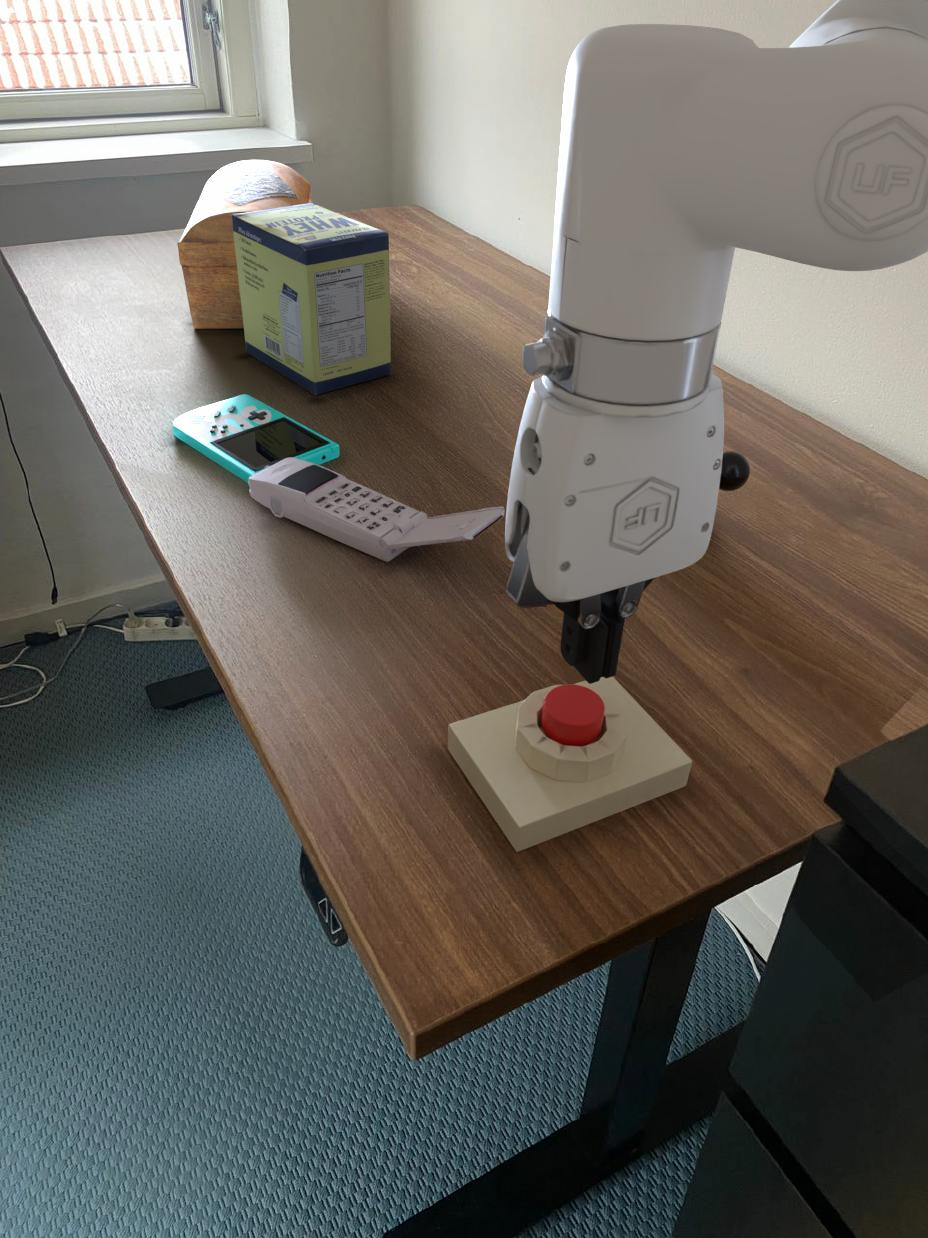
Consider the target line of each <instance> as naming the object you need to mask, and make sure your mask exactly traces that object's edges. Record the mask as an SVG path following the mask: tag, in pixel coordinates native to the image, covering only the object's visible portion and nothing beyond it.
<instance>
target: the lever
mask: <svg viewBox="0 0 928 1238" xmlns="http://www.w3.org/2000/svg"><path fill="white" fill-rule="evenodd" d="M750 474H751V467H750V464H749V461H748V460H747V458H746V457H745V455H743V454H742V453H739V452H737V451H731V450H729V451H723V459H722V470H721V477H720V485H719V491H720V490H721V491H724V492H733V491H737V490H739V489H741V488H742V487H743V486H745V484H747V482H748V481H749V477H750Z"/></svg>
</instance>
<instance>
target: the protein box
mask: <svg viewBox="0 0 928 1238" xmlns="http://www.w3.org/2000/svg"><path fill="white" fill-rule="evenodd" d="M231 216H232V223H233V233H234V242H235V252H236V261H237V270H238V279H239V288H240V297H241V305H242V316H243V325H244V328H243V331H244V333H243V334H244V341H245V351H246V353H247V354H248V355H250V356H251V357H253V358H255V359H256V360H258V361H259V362H261V363H263V364H264V365H266V366H267V367H269V368H270V369H272V370H274V371H275V372H277V373H278V374H279V375H282V376H284V377H285V378H286V379H288V380H289V381H291V382H293V383H294V384H296V385H298V386H299V387H301V388H302V389H304V390H306V391H307V392H309V393H310V394H312V395H314V396H317V395H321V394H325V393H329V392H332V391H336V390H339V389H342V388H346V387H350V386H353V385H357V384H360V383H364V382H368V381H371V380H375V379H378V378H382V377H385V376H389V375H392V355H391V351H392V350H391V348H392V347H391V345H392V343H391V290H390V289H391V287H390V283H391V281H390V276H391V275H390V237H389V236H390V234H389V232H386V231H385V230H382V229H379V228H376V227H374V226H371V225H369V224H366V223H364V222H361V221H358V220H356V219H354V218H353V219H352V218H350V217H347V216H345V215H343V214H340V213H338V212H334V211H332V210H330V209H328V208H325V207H323V206H320V205H318V204H315V203H313V202H312V203H308V204H301V205H294V206H288V207H281V208H274V209H267V210H260V211H253V212H246V213H239V214H232V215H231Z"/></svg>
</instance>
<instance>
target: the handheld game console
mask: <svg viewBox="0 0 928 1238" xmlns="http://www.w3.org/2000/svg"><path fill="white" fill-rule="evenodd" d="M172 429H173V434H174V436H175V437H176V438H177V439H179V440H180V441H181V442H183V443H185V444H186V445H188V446H189V447H191V448H193V449H194V450H196V451H197V452H199V453H201V454H202V455H203V456H205V457H207V458H208V459H210V460H211V461H213V462H215V463H216V464H217V465H218V466H220V467H222V468H224V469H225V470H227V471H229V472H230V473H232V474H233V475H235V476H236V477H238V478H239V479H241V480H243V482H245V483H247V484H248V483H249V477H250V476H252V475H254V474H256V473H258V472H260V471H262V470H263V468H264V467H265V466H267V465H268V466H272V465H274V464H275V463H277V462H279V461H281V460H283V459H285V458H289V457H293V458H297V459H301V460H304V461H308V462H311V463H314V464H317V465H320V466H321V465H322V464H325V463H328V462H330V461H333V460H335V459H337V458H339V457H340V456H341V454H340V451H341V450H340V445H339V444H338V443H336V442H334V441H333V440H331V439H329V438H328V437H325V436H324V435H322V434H320V433H318V432H317V431H315V430H313V429H311V428H309V427H307V426H306V425H304V424H302V423H300V422H299V421H297V420H295V419H293V418H292V417H290V416H287V415H286V414H284V413H282V412H280V411H278V410H276V409H275V408H274V407H272V406H269V405H268V404H266V403H264V402H262V401H261V400H258V399H257V398H255V397H253V396H252V395H250V394H247V393H242V394H239V395H236V396H233V397H229V398H227V399H222V400H220V401H217V402H214V403H211V404H208V405H203V406H201V407H197V408H195V409H192V410H190V411H187V412H185V413H183V414H181V415H179V416H178V417H176V418H175V419H174V421H173V422H172Z"/></svg>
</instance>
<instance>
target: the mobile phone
mask: <svg viewBox="0 0 928 1238" xmlns="http://www.w3.org/2000/svg"><path fill="white" fill-rule="evenodd" d="M247 484H248V487H249V489H248V491H249V492H248V493H249V496H250V497H251V498H252V499H254V500H255V501H256V502H258V503H259V504H261V505H262V506H264V507H266V508H267V509H269V510H270V511H271V513H272V514H273V516H274V517H276V518H281V519H282V518H283V517H284V518H286V519H289V520H290V521H292V522H295V523H297V524H300V525H302V526H303V527H306V528H308V529H310V530H313V531H315V532H316V533H319V534H321V535H323V536H326V537H328V538H329V539H333V540H335V541H337V542H339V543H341V544H345V545H346V546H349V547H351V548H353V549H355V550H358V551H359V552H362V553H365V554H367V555H369V556H371V557H373V558H376V559H378V560H381V561H383V562H385V563H388V562H390V561H392V560H393V559H395V558H396V557H397V556H399V555H400V554H402V553H404V551H406V550H407V549H409V548H410V547H418V546H428V545H437V544H443V543H444V544H445V543H454V542H466V541H472V540H474V539H475V538H477V537H479V536H480V535H481V534H482V533H484V532H485V531H487V530H488V529H489V528H491V527H492V526H493V525H494V524H496V523H497V522H498V521H499V520H501V519H502V518H503V517H504V516H505V514H506V511H505V509H506V508H504V506H491V507H483V508H481V509H474V510H468V511H461V512H455V513H449V514H442V515H436V516H435V515H434V516H429V517H428V515H427V513H426V512H424V511H423V510H422V511H421V510H420V511H419V510H418V509H415V508H413V507H411V506H408V505H406V504H404V503H402V502H399V501H398V500H395V499H393V498H391V497H388V496H386V495H384V494H382V493H380V492H378V491H376V490H373V489H371V488H369V487H368V486H367V487H366V486H365V485H362V484H360V483H358V482H355V481H353V480H351V479H349V478H347V477H346V476H345V475H343V474H341V473H338V472H336V471H334V470H331V469H329V468H327V467H326V466H325V467H324V466H322V465H321V464H320V465H317V464H314V463H311V462H308V461H304V460H301V459H297V458H293V457H289V458H285V459H283V460H281V461H279V462H277V463H275V464H274V465H272V466H268V465H267V466H265V467H264V468H263V470H262V471H260V472H258V473H256V474H254V475H252V476H250V477H249V483H247Z"/></svg>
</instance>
